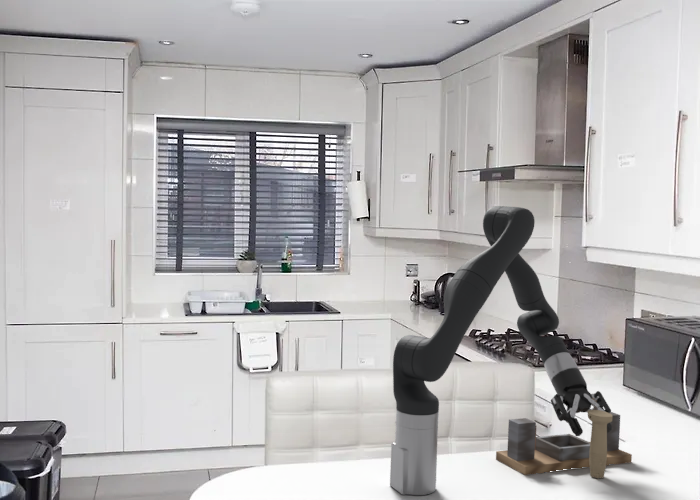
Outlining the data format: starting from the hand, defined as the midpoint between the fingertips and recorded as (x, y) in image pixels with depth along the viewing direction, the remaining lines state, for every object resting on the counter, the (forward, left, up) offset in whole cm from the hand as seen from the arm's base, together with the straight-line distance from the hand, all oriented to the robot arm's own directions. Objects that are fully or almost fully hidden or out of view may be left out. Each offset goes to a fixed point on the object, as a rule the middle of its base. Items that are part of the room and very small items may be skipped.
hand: (594, 433), depth 174 cm
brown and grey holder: (0, +10, -10) cm, 14 cm away
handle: (0, -2, -10) cm, 10 cm away
